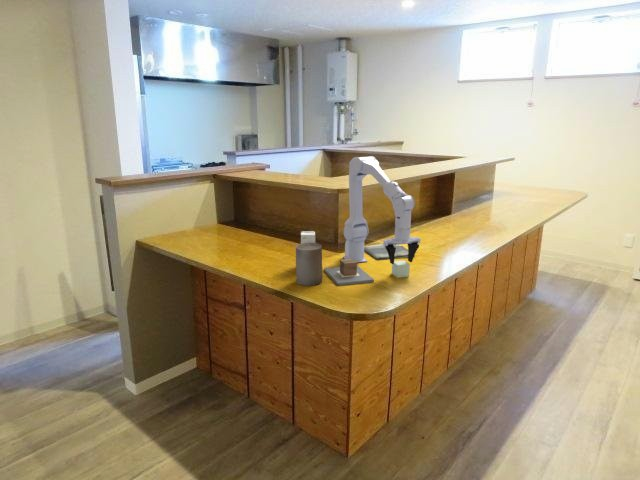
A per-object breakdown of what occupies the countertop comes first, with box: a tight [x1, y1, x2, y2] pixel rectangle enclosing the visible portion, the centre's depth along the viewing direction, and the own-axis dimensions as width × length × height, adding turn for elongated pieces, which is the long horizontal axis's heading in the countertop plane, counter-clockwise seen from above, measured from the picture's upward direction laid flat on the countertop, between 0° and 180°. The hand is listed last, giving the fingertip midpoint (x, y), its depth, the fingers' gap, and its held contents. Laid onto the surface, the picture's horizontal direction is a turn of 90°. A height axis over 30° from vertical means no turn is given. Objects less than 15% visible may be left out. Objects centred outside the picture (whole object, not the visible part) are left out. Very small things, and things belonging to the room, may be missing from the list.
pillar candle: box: [295, 242, 323, 287], centre depth 165 cm, size 10×10×15 cm
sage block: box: [391, 260, 411, 279], centre depth 174 cm, size 5×5×5 cm
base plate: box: [323, 265, 375, 286], centre depth 173 cm, size 18×14×1 cm
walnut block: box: [339, 258, 358, 276], centre depth 172 cm, size 5×5×5 cm
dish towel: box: [364, 243, 416, 261], centre depth 203 cm, size 19×18×3 cm
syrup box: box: [300, 230, 316, 244], centre depth 182 cm, size 6×6×14 cm
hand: (401, 262), depth 173 cm, fingers open, 7 cm apart
